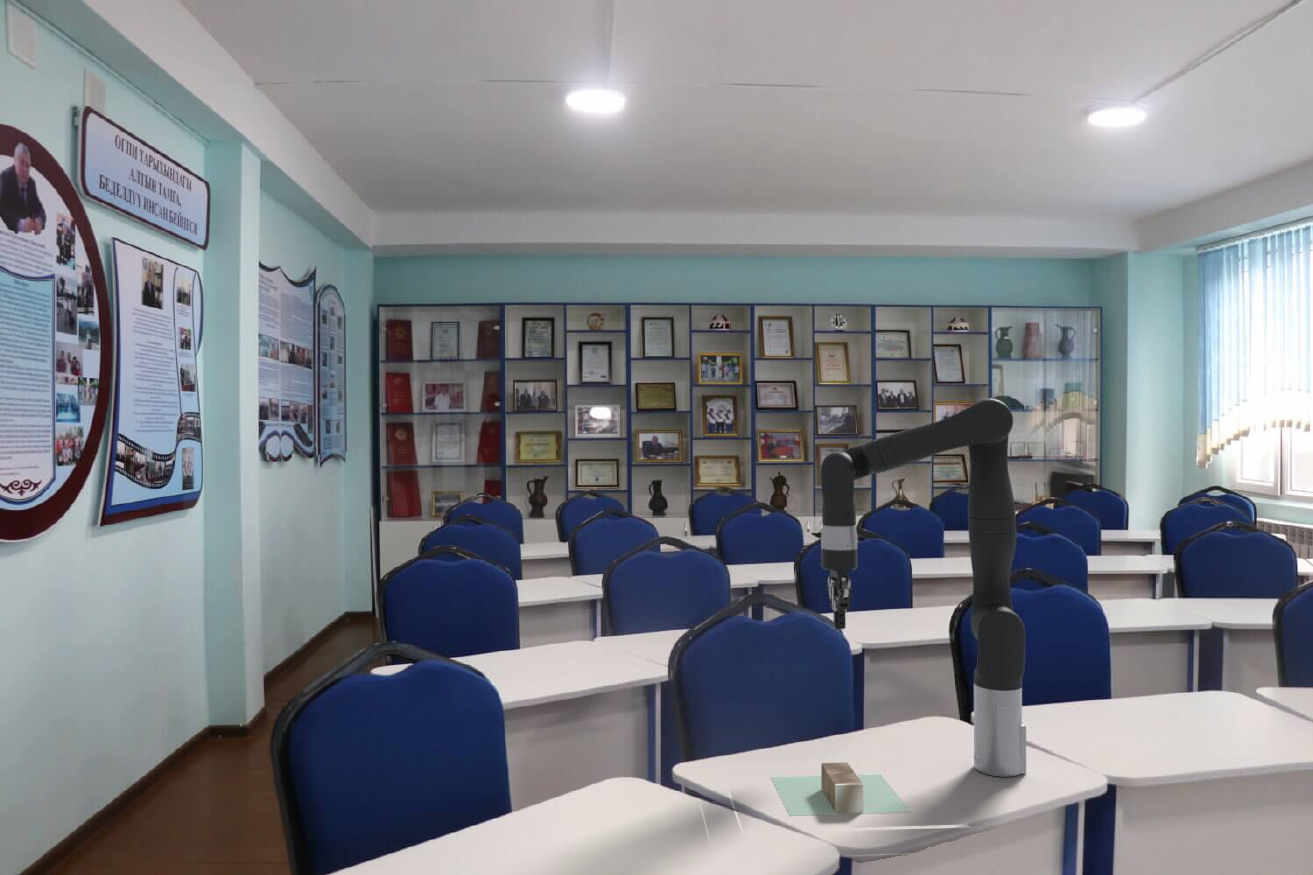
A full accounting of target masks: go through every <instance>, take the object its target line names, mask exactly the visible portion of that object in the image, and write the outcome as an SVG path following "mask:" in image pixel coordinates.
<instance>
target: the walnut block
mask: <svg viewBox="0 0 1313 875" xmlns="http://www.w3.org/2000/svg"><path fill="white" fill-rule="evenodd" d="M820 766H821V774H820V776H821V789H822V791H823V793H824V794H825V796H826V798H827V799H828V801H829V803H830V804H831V806H832V808H833V809H834V811H835V813H856V812H863V783H862V782H861V781H860V779H859V778H858V776H857V775H858V774H856V772H855V771H854V769H853V768H852V766H850V764H849V763H848V762H821V765H820Z"/></svg>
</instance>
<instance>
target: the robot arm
mask: <svg viewBox="0 0 1313 875" xmlns="http://www.w3.org/2000/svg"><path fill="white" fill-rule="evenodd" d="M1013 425H1014V416H1013V413H1012V411H1011V409H1010V407H1009V406H1007V405H1006V403H1005V402H1003V401H1001V400H999V399H996V398H982V399H979V400H977V401H975V402H974V403H972V404H971V405H970V406H969V407H967V408H964V409H963V410H961V411H960V412H959V411H958V412H957V413H955V414H953V415H952V416H948V417H945V418H944V419H941V420H938V421H935V422H932V423H929V424H925V425H921V426H917V427H913V428H909V429H905V430H901V431H897V432H895V433H891V434H889V435H885V436H882V437H881V436H880V437H879V438H876V439H871V440H870V441H868V442H866V443H864V444H861V445H857V446H854V447H849V448H847V449H842V450H839V451H835V452H832V453H829V454H827V455H826V456H825V458H823V460H822V462H821V465H820V488H821V495H822V509H821V512H822V513H821V514H822V515H821V517H822V518H821V519H822V521H821V522H822V523H821V524H822V526H821V535H820V542H821V543H820V547H821V548H820V553H821V554H820V555H821V557H820V560H821V561H820V566H821V568H822V569H823V570H827V571H830V572H829V576H828V577H827V580H826V586H827V592H828V597H829V604H830V606H831V609H832V610H833V628H834V629H836V630H845V629H846V612H847V610H849V609H850V605H851V602H852V596H853V592H854V591H853V588H851V586H852V585H851V583H852V582H851V578H849V572H850V571H855V570H857V569H858V533H857V532H858V531H857V509H856V508H857V507H856V501H855V496H854V494H855V481H856V480H860V479H863V478H865V477H867V476H870V475H873V474H880V473H885V472H887V471H888V472H889V471H891V470H892V471H893V470H896V469H898V468H901V467H905V466H907V465H911V464H913V463H915V462H918V461H921V460H924V459H927V458H929V457H932V456H934V455H937V454H940V453H942V452H943V453H944V452H947V451H950V450H954V449H959V448H963V447H968V453H969V454H968V455H969V463H970V464H969V465H970V466H969V467H970V468H969V469H970V471H969V472H970V475H969V485H968V497H967V498H968V500H967V521H968V522H967V523H968V540H969V553H970V563H971V569H972V570H971V572H972V601H971V604H972V605H971V615H970V627H971V628H970V629H971V632H972V634H973V636H974V638H975V640H977V658H976V659H977V660H976V661H977V662H976V667H975V668H974V670H973V768H974V769H975V770H976V771H978V772H980V773H982V774H984V775H989V776H994V777H1000V778H1001V777H1002V778H1003V777H1005V778H1006V777H1007V778H1010V777H1016V776H1019V775H1022V774H1023V775H1024V774H1027V727H1026V725H1025V724H1024V723H1023V677H1024V674H1025V669H1026V668H1025V667H1026V629H1025V624H1024V622H1023V620H1022V618H1021V617H1020V616H1019V615H1018V614H1017V613H1016V612H1014V609H1013V604H1012V594H1011V585H1010V584H1011V580H1010V578H1011V571H1012V566H1013V562H1014V557H1015V552H1016V546H1017V519H1016V518H1017V517H1016V506H1015V498H1014V492H1013V488H1012V483H1011V477H1010V474H1009V465H1008V454H1009V452H1008V451H1009V450H1008V449H1009V436H1010V433H1011V431H1012V428H1013Z"/></svg>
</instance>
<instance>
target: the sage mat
mask: <svg viewBox="0 0 1313 875" xmlns="http://www.w3.org/2000/svg"><path fill="white" fill-rule="evenodd" d="M856 775H857V776H858V778H859V779H860V781H861V782H862V783H863V812H856V813H835V811H834V809H833V808H832V806H831V804H830V803H829V801H828V799H827V798H826V796H825V794H824V793H823V791H822V789H821V775H812V776H811V775H810V776H809V775H805V776H803V775H802V776H771V777H770V779H771V781H772V783H773V785H774V787H775V790H776V791H777V794H778V795H779V797H780V799H781V801H782V804H783V805H784V807H785V810H786V812H787V814H788V816H789V817H793V816H795V817H797V816H799V817H800V816H831V815H870V814H874V815H875V814H903V813H904V814H905V813H906V814H907V813H909V814H910V813H912V811H911V810H910V809H909V808H908V806H907V805H906V804H905V803H904V801H903V800H902V799H901V798H900V796H899V795H898V794H897V793H896V792H895V790H894V789H893V788H892V786H891V785H890V784H889V782H887V780H886V779H885V778H884V776H882V774H878V773H877V774H856Z"/></svg>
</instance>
